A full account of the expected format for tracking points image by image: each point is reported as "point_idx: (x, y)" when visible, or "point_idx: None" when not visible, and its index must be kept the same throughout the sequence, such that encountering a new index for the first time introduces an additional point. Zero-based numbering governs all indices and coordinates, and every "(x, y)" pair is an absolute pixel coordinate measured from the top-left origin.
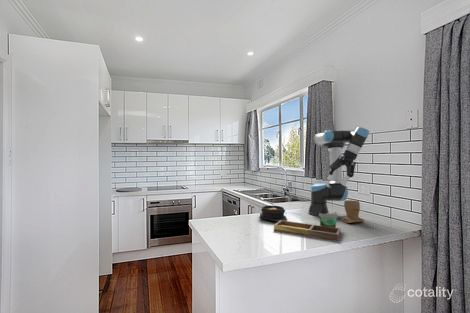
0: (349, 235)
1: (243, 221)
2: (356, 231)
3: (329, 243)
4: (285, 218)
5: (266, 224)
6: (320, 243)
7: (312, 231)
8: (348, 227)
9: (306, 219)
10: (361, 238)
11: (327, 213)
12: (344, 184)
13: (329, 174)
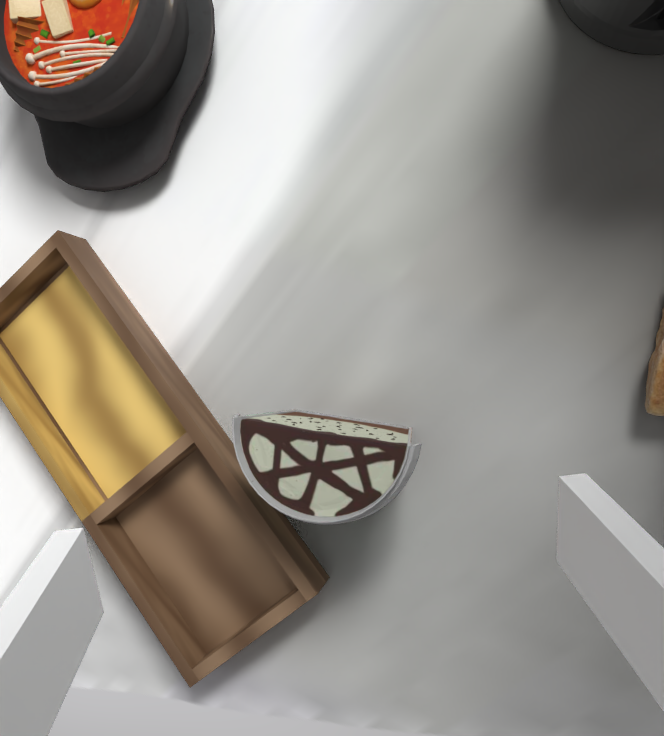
0: (376, 622)
1: None
2: (516, 578)
3: (138, 668)
4: (160, 137)
5: (17, 183)
6: (94, 642)
7: (100, 545)
8: (549, 468)
9: (379, 128)
10: (403, 708)
11: (313, 440)
12: (568, 574)
13: (2, 620)
